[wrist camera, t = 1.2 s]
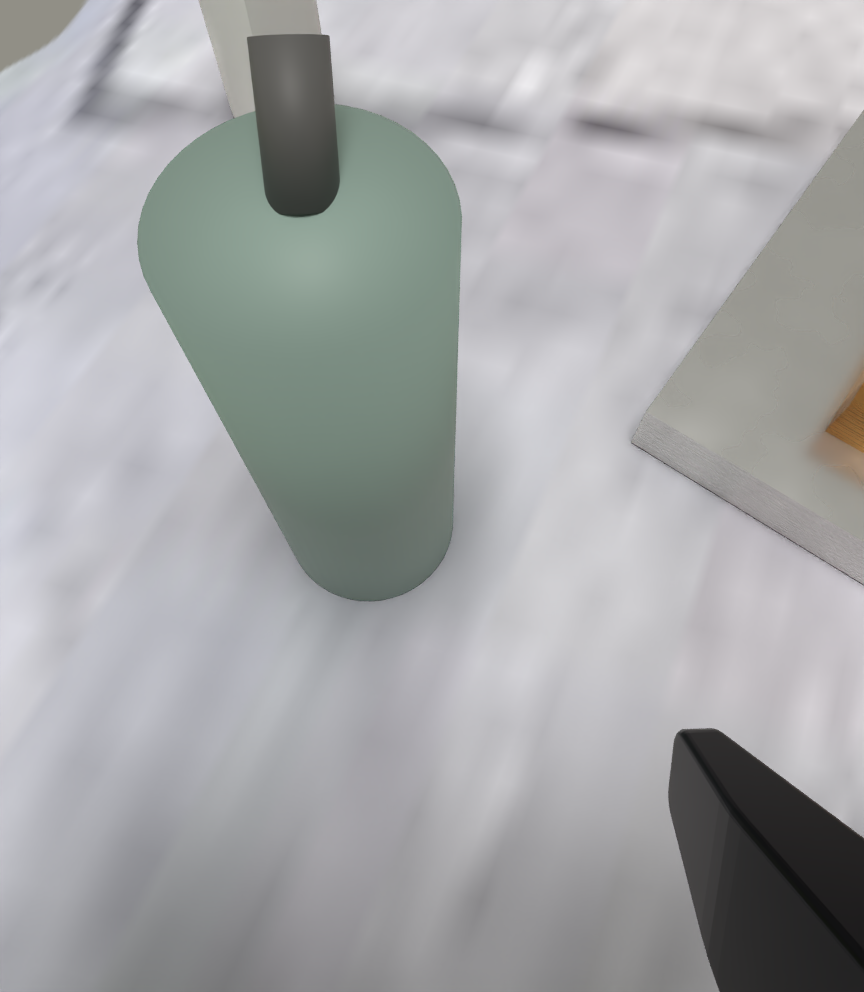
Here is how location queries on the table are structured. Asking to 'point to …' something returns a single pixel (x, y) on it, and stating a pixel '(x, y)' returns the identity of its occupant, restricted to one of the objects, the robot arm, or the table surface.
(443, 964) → the table surface
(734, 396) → the grey flat block
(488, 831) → the table surface
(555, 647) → the table surface
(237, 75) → the eye dropper bottle
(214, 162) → the spout can
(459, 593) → the table surface
